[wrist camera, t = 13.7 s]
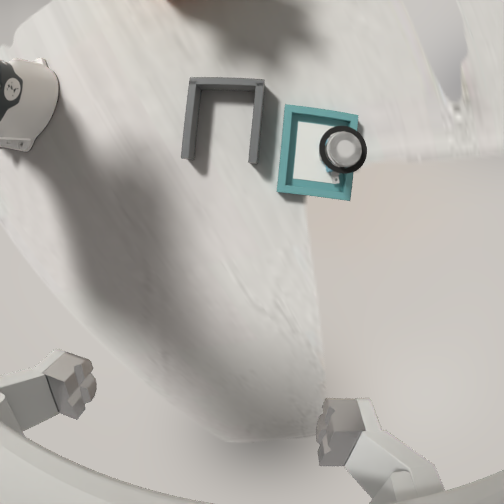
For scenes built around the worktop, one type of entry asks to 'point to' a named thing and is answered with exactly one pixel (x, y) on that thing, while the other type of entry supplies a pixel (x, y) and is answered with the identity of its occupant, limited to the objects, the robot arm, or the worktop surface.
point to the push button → (342, 151)
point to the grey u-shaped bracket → (221, 84)
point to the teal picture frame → (310, 153)
